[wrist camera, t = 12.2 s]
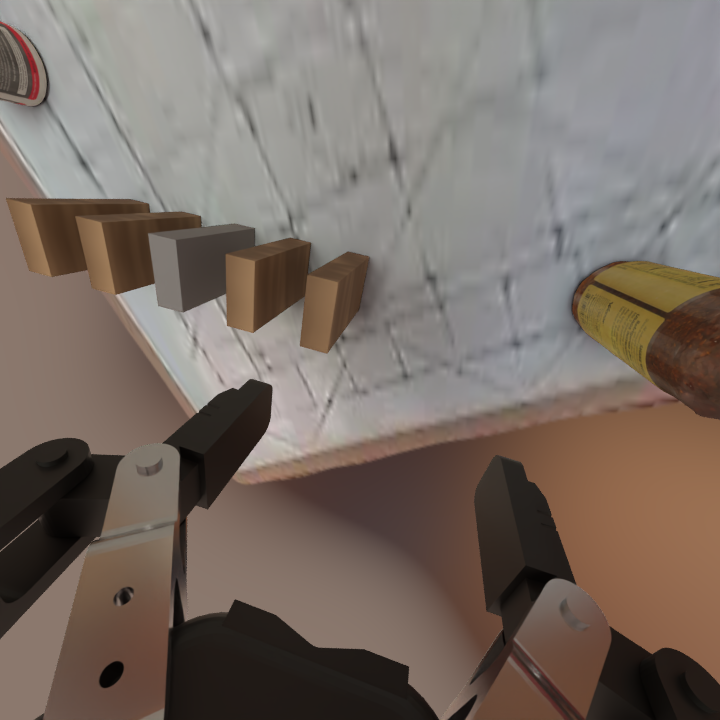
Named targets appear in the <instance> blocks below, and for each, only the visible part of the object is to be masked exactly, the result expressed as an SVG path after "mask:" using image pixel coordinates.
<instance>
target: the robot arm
mask: <svg viewBox="0 0 720 720" xmlns="http://www.w3.org/2000/svg"><path fill="white" fill-rule="evenodd" d="M271 404H272V385H270V384H267V383H263V382H260V381H257V380H254V379H250V380H248V381H247V382H246V383H245V384H244V385H243V386H242V387H241V388H240V389H239V390H237V389H234V388H231V389H229V390H227V391H224V392H222V393H220V394H218V395H217V396H216V397H214V398H213V399H212V400H211V401H210V402H209V403H208V405H205V406H204V407H203V408H202V409H201V410H200V411H199V413H196V414H195V415H194V416H193V417H192V418H191V419H189V420H188V421H187V422H186V423H185V424H184V425H183V426H182V427H180V428H179V429H178V430H177V431H176V432H175V433H174V434H172V435H171V436H170V437H169V438H168V439H167V440H166V441H164V442H163V443H162V444H161V443H159V444H158V443H157V444H149V445H145V446H141V447H139V448H137V449H135V450H133V451H131V452H130V453H128V454H127V455H126V456H121V455H119V456H118V455H97V454H91V452H90V449H89V447H88V444H87V443H86V442H84V441H82V440H80V439H76V438H63V439H56V440H51V441H48V442H45V443H42V444H40V445H38V446H35V447H33V448H32V449H30V450H28V451H27V452H25V453H24V454H22V455H21V456H19V457H18V458H16V459H14V460H13V461H12V462H10V463H8V464H7V465H6V466H4V467H2V468H1V469H0V550H1V549H2V548H4V547H5V546H6V545H7V544H8V543H10V542H11V541H12V540H13V539H14V538H15V537H17V536H18V535H19V534H20V533H21V532H22V531H24V530H25V529H26V528H27V527H28V526H29V525H31V524H32V523H33V522H34V521H35V520H36V519H38V520H37V521H36V522H35V523H34V524H32V525H31V526H30V527H29V528H28V529H27V530H26V531H24V532H23V533H22V534H21V535H20V536H19V537H17V538H16V539H15V540H14V541H13V542H12V543H10V544H9V545H8V546H7V547H6V548H4V549H3V550H2V551H1V552H0V639H1V637H2V636H3V635H4V634H5V633H6V632H7V631H8V630H9V629H10V628H11V627H12V626H13V625H14V624H15V622H17V620H18V619H19V618H20V617H21V616H22V615H23V614H24V613H25V612H26V611H27V610H28V609H29V608H30V607H31V606H32V605H33V603H34V602H35V601H36V600H37V599H38V598H39V597H40V596H41V595H42V594H43V593H44V592H45V591H46V590H47V588H49V586H50V585H51V584H52V583H53V582H54V581H55V580H56V579H57V578H58V577H59V576H60V575H61V574H62V572H64V571H65V569H66V568H67V567H68V566H69V565H70V564H71V563H72V562H73V561H74V560H75V559H76V558H77V557H78V556H79V554H81V552H82V551H83V550H84V549H85V548H86V547H87V546H88V545H89V544H90V543H91V542H92V541H93V540H94V538H96V537H100V539H99V540H95V541H93V542H92V543H91V544H90V546H89V547H88V550H87V553H86V556H85V559H84V564H83V567H82V571H81V575H80V579H79V583H78V586H77V590H76V594H75V598H74V602H73V605H72V609H71V613H70V617H69V621H68V625H67V629H66V632H65V636H64V640H63V644H62V648H61V652H60V655H59V659H58V663H57V667H56V671H55V675H54V679H53V682H52V686H51V690H50V694H49V697H48V701H47V706H46V709H45V713H44V714H42V715H41V716H39V717H38V718H36V719H35V720H439V719H438V717H437V715H436V714H435V712H434V711H433V710H432V708H431V707H430V706H429V705H428V703H427V702H426V701H425V699H424V698H423V697H422V696H421V695H420V694H419V693H418V692H417V691H416V690H415V689H414V688H413V687H412V686H411V685H409V684H408V674H409V667H408V666H406V665H403V664H400V663H398V662H395V661H393V660H390V659H388V658H385V657H383V656H380V655H377V654H375V653H372V652H370V651H367V650H365V649H339V648H338V649H337V648H318V647H315V646H313V645H311V644H310V643H309V642H308V641H306V640H305V639H304V638H303V637H302V636H300V635H299V634H298V633H297V632H296V631H294V630H293V629H292V628H291V627H290V626H288V625H287V624H286V623H285V622H284V621H282V620H281V619H280V618H279V617H277V616H276V615H274V614H272V613H269V612H267V611H264V610H261V609H259V608H256V607H253V606H251V605H249V604H246V603H243V602H241V601H238V600H234V602H233V605H232V606H231V608H230V610H229V612H220V613H212V614H207V615H203V616H199V617H196V618H193V619H191V620H188V599H187V521H188V519H187V516H188V514H189V513H190V512H191V511H192V509H193V508H194V507H195V506H196V505H197V506H199V507H202V508H205V509H208V508H209V507H210V506H211V504H212V503H213V502H214V500H215V499H216V498H217V496H218V495H219V494H220V492H221V491H222V490H223V488H224V487H225V486H226V484H227V483H228V482H229V480H230V479H231V478H232V476H233V475H234V474H235V472H236V471H237V470H238V468H239V467H240V466H241V464H242V463H243V462H244V460H245V459H246V458H247V456H248V455H249V454H250V452H251V451H252V450H253V448H254V447H255V446H256V444H257V443H258V442H259V440H260V439H261V438H262V436H263V435H264V434H265V432H266V430H267V428H268V425H269V422H270V418H271ZM474 503H475V513H476V521H477V531H478V539H479V547H480V556H481V566H482V574H483V584H484V593H485V602H486V610H487V612H491V613H493V614H496V615H499V616H501V617H502V622H503V629H502V630H501V632H500V633H499V634H498V636H497V637H496V639H495V640H494V642H493V644H492V645H491V647H490V648H489V650H488V651H487V653H486V654H485V656H484V657H483V659H482V660H481V662H480V663H479V665H478V667H477V668H476V670H475V671H474V673H473V674H472V676H471V677H470V679H469V681H468V682H467V683H466V685H465V686H464V688H463V689H462V691H461V692H460V693H459V695H458V696H457V697H456V699H455V700H454V701H453V702H452V704H451V705H450V706H449V707H448V709H447V710H446V712H445V713H444V715H443V716H442V717H441V719H440V720H720V685H719V684H718V682H717V681H716V680H715V679H714V678H713V677H712V676H711V675H710V674H709V673H708V672H707V671H706V670H705V669H704V668H703V667H702V666H700V665H699V664H698V663H697V662H695V661H694V660H693V659H691V658H690V657H688V656H687V655H685V654H684V653H682V652H680V651H677V650H674V649H671V648H662V649H660V650H658V651H657V652H655V653H653V654H651V653H649V652H648V651H646V650H645V649H643V648H642V647H640V646H638V645H637V644H635V643H634V642H633V641H631V640H629V639H628V638H626V637H625V636H623V635H622V634H620V633H619V632H617V631H616V630H614V629H613V628H612V627H610V626H609V624H608V622H607V620H606V618H605V616H604V614H603V613H602V611H601V609H600V608H599V606H598V605H597V604H596V602H595V601H594V600H593V599H592V598H591V597H590V596H589V595H588V594H587V593H586V592H585V591H583V590H582V589H581V588H580V587H578V586H577V585H576V582H575V580H574V577H573V574H572V571H571V568H570V565H569V562H568V560H567V557H566V554H565V551H564V548H563V545H562V543H561V540H560V537H559V534H558V532H557V531H556V526H555V523H554V520H553V518H552V517H551V511H550V509H549V506H548V503H547V500H546V498H545V497H544V495H543V494H542V493H541V491H540V490H539V488H538V487H537V486H536V484H535V483H532V482H529V481H528V480H527V477H526V474H525V471H524V467H523V465H522V463H521V462H518V461H515V460H512V459H509V458H505V457H502V456H499V455H496V456H495V457H494V458H493V459H492V461H491V463H490V464H489V466H488V468H487V470H486V471H485V473H484V475H483V477H482V478H481V480H480V482H479V484H478V486H477V488H476V492H475V499H474Z"/></svg>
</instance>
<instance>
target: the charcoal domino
mask: <svg viewBox="0 0 720 720" xmlns="http://www.w3.org/2000/svg"><path fill="white" fill-rule="evenodd" d="M148 236H149V243H150V251H151V258H152V265H153V272H154V279H155V287H156V294H157V301H158V306H161V307H164V308H168V309H172V310H176V311H179V312H185V311H187V310H190V309H192V308H194V307H197V306H199V305H201V304H203V303H206V302H208V301H210V300H213V299H215V298H217V297H219V296H222V295H224V294H226V254H227V253H231V252H235V251H239V250H243V249H247V248H251V247H254V240H255V228H251V227H247V226H242V225H238V224H228V225H219V226H210V227H201V228H192V229H183V230H174V231H165V232H156V233H148Z"/></svg>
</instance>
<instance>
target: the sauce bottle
mask: <svg viewBox="0 0 720 720" xmlns="http://www.w3.org/2000/svg"><path fill="white" fill-rule="evenodd" d="M572 311H573V315H574V317H575V319H576V320H577V322H578V324H579V325H580V326H581V327H582V328H583V330H584V331H585V332H586V333H587V334H588V335H589V336H590V337H592V338H593V339H594V340H596V341H597V342H598V343H600V344H601V345H602V346H604V347H605V348H606V349H608V350H609V351H610V352H611V353H613V354H614V355H615V356H617V357H618V358H620V359H621V360H622V361H624V362H625V363H626V364H628V365H629V366H630V367H631V368H633V369H634V370H635V371H637V372H638V373H639V374H641V375H642V376H644V377H645V378H646V379H648V380H649V381H650V382H652V383H653V384H654V385H656V386H657V387H658V388H660V389H661V390H662V391H664V392H666V393H668V394H670V395H672V396H674V397H675V398H677V399H678V400H680V401H681V402H683V403H684V404H685V405H686V406H688V407H689V408H691V409H692V410H693V411H694V412H695V413H696V414H698V415H700V416H703V417H708V418H714V419H719V420H720V278H719V277H714V276H709V275H705V274H700V273H696V272H691V271H687V270H683V269H678V268H674V267H669V266H665V265H661V264H656V263H652V262H648V261H633V262H626V261H620V262H614V263H611V264H609V265H607V266H604V267H602V268H600V269H599V270H597V271H596V272H594V273H592V274H591V275H590V276H589V277H587V278H586V279H585V280H584V281H582V283H581V284H580V286H579V287H578V289H577V290H576V293H575V295H574V300H573V304H572Z"/></svg>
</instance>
